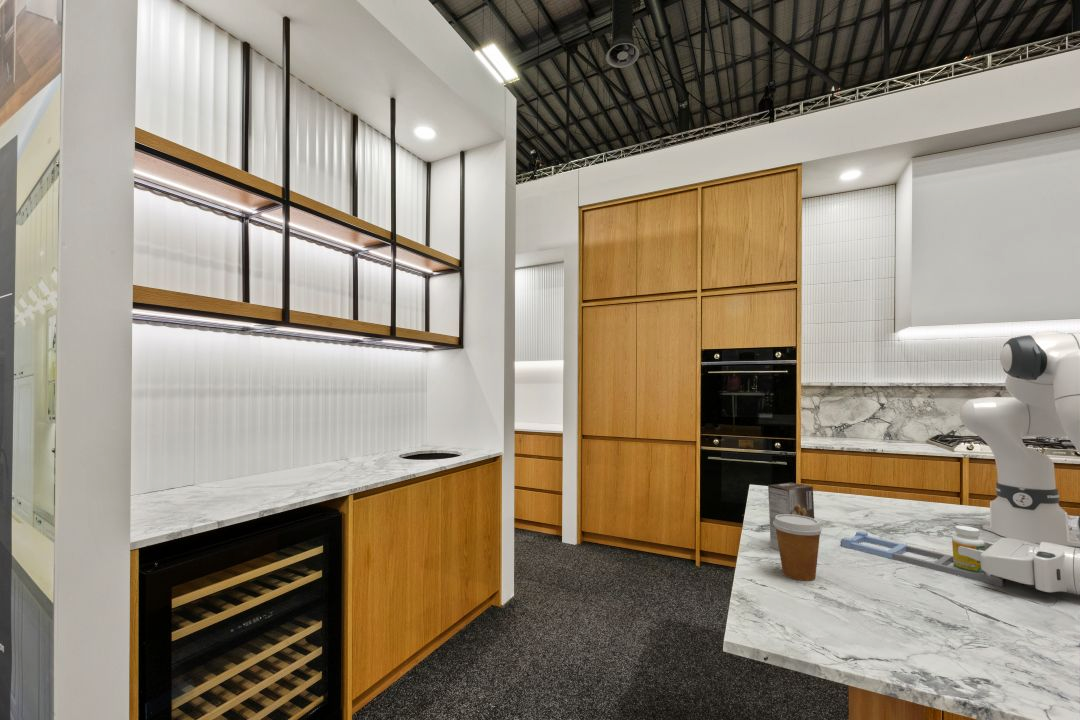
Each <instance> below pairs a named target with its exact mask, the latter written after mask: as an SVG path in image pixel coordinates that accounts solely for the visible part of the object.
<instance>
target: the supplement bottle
mask: <svg viewBox="0 0 1080 720" xmlns="http://www.w3.org/2000/svg"><path fill="white" fill-rule="evenodd" d="M954 529H955V530H954V531H955V533H956V534H954V535H953V536H952V538H951V542H952V543H951V544H952V545H951V546H952V556H953V562H952V564H953V567H954V568H958V569H962V570H966V571H970V572H975V573H979V574H983V575H986V574H987V572H985V571H983V570H982V569H981V561H977V560H975V559H973V558H970V557H968V556H963V555H960V554H959V553H958V547H959V546H967V547H970V548H972V549H976V550H983V551H985V544H984V542H985V541H983V539H981V538H980V535H981V533H980V529H978V528H977V527H974V526H973V527H972V526H966V525H955V528H954Z"/></svg>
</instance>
